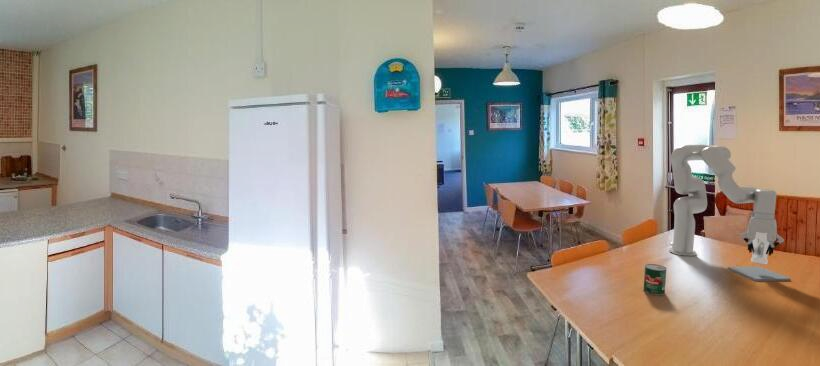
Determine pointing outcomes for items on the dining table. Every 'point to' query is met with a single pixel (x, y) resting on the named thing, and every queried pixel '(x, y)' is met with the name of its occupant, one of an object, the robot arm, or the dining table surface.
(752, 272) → the grey mat
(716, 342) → the dining table surface
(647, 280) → the canned tomato
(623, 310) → the dining table surface
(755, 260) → the beer glass
